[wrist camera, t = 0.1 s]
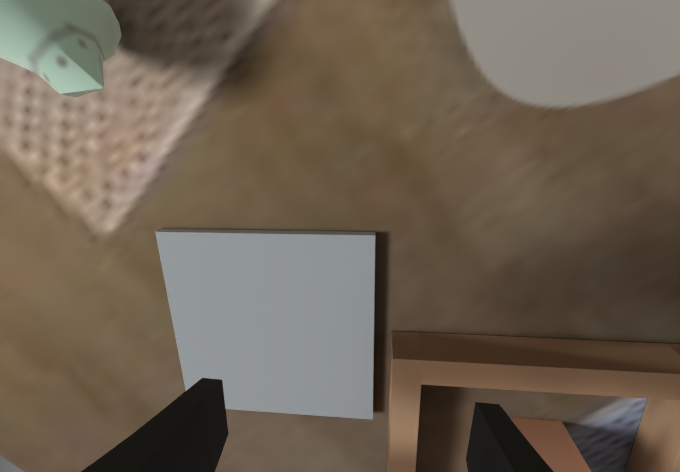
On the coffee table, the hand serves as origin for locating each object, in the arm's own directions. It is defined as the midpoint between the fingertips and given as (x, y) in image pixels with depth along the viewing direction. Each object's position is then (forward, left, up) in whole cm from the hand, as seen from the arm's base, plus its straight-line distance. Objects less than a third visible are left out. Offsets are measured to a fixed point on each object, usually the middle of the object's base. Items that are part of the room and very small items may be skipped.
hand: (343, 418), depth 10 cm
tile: (-4, +5, -10) cm, 12 cm away
